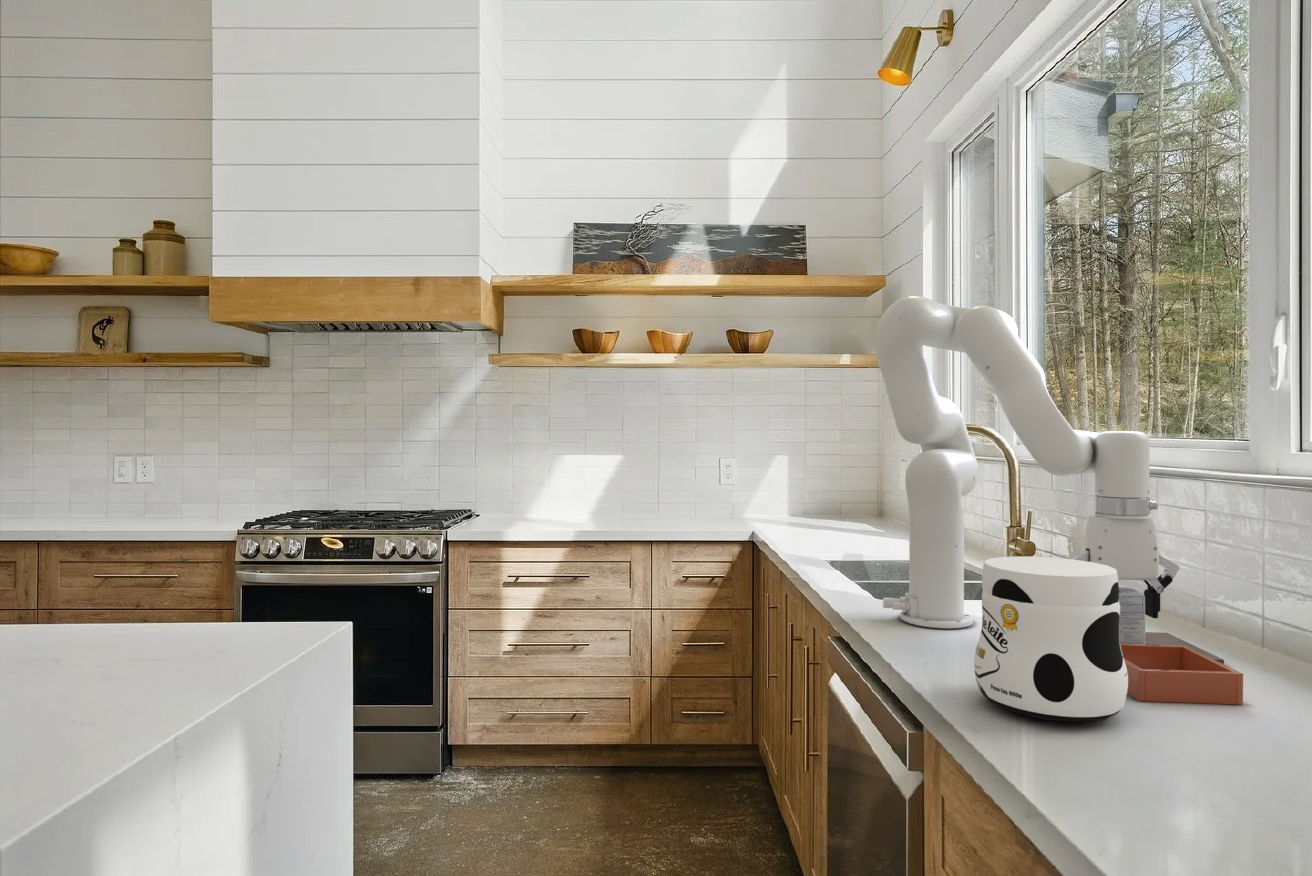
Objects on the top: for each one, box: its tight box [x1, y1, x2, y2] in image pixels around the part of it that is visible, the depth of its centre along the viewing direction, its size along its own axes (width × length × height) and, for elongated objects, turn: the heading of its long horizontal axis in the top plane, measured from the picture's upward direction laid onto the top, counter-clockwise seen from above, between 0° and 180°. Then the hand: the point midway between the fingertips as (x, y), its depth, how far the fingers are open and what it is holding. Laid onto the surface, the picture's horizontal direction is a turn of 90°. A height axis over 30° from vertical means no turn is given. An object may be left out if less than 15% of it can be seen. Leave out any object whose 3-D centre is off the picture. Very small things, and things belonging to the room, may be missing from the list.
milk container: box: [973, 555, 1128, 723], centre depth 100 cm, size 17×17×18 cm
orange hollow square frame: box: [1120, 644, 1244, 706], centre depth 109 cm, size 13×14×4 cm
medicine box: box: [1119, 584, 1146, 644], centre depth 127 cm, size 8×4×9 cm, turn 169°
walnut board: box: [1145, 631, 1225, 665], centre depth 127 cm, size 22×16×1 cm
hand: (1120, 615), depth 127 cm, fingers open, 8 cm apart
